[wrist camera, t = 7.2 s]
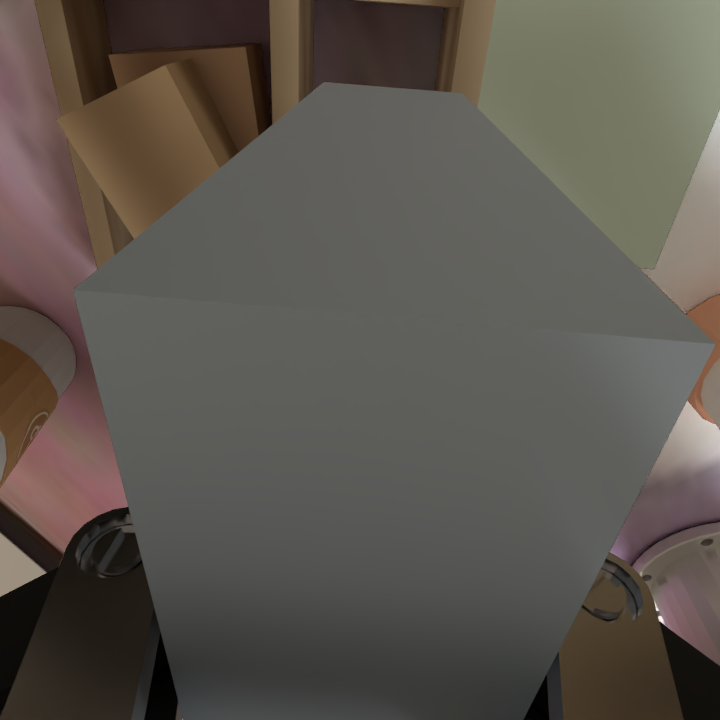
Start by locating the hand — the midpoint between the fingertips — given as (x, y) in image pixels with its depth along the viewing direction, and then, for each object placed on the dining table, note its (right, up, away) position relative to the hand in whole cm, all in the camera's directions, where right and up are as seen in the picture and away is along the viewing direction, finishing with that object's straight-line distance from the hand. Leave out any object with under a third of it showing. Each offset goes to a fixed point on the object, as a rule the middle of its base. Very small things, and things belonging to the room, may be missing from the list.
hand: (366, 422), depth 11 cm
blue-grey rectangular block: (0, +5, +7) cm, 8 cm away
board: (+10, +13, +13) cm, 21 cm away
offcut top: (-8, +9, +12) cm, 17 cm away
